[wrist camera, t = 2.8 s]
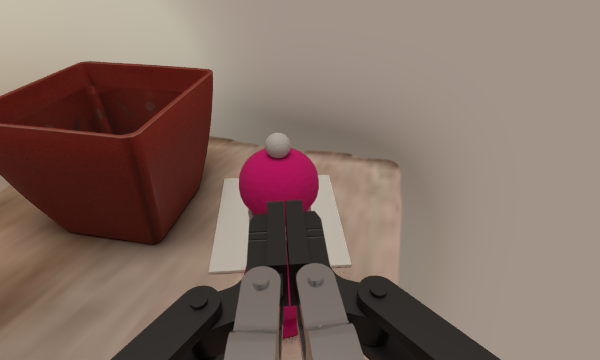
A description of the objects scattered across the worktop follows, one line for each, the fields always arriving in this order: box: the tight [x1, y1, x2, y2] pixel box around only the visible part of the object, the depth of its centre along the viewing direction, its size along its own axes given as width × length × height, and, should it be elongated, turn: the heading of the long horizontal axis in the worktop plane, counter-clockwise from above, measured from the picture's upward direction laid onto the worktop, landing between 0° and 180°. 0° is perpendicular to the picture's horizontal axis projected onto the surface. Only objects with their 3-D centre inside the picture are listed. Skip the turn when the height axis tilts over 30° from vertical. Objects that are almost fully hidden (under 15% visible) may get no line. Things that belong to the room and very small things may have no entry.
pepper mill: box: [239, 133, 319, 338], centre depth 30 cm, size 7×7×20 cm
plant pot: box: [0, 61, 213, 244], centre depth 44 cm, size 19×19×17 cm
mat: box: [209, 175, 351, 274], centre depth 47 cm, size 18×16×1 cm
